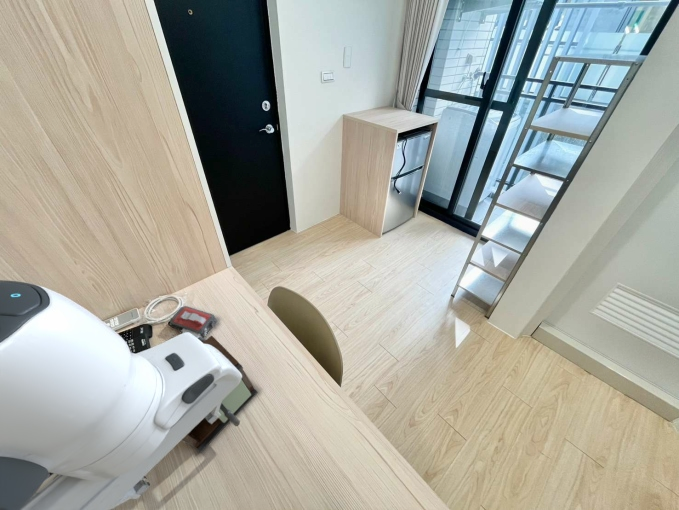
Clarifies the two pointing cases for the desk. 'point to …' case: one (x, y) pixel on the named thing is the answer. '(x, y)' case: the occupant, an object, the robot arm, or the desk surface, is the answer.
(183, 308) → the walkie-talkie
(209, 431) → the cupboard
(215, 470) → the desk surface
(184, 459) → the desk surface
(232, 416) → the door
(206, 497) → the desk surface
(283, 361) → the desk surface
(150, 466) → the robot arm
